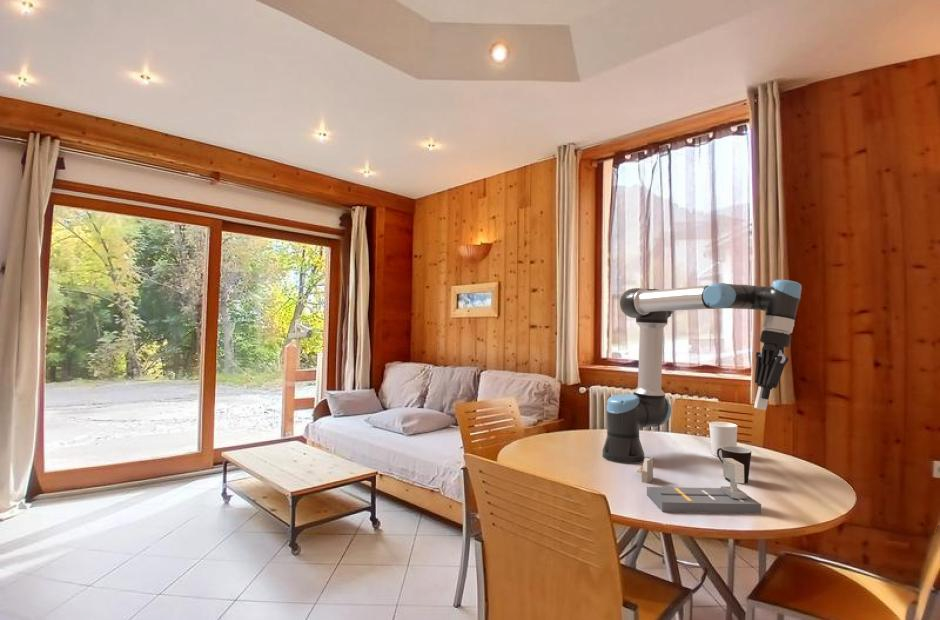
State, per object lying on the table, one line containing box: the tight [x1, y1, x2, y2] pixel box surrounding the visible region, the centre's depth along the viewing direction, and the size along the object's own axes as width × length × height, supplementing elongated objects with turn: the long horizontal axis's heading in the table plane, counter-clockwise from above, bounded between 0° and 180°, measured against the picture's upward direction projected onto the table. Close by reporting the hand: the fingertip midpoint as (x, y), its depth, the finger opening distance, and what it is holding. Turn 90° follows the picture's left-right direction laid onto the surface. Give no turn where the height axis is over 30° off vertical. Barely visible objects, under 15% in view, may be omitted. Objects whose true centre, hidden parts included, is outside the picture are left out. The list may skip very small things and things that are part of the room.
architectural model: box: [636, 456, 654, 484], centre depth 150 cm, size 3×7×7 cm, turn 143°
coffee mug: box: [716, 446, 753, 485], centre depth 151 cm, size 12×9×10 cm
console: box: [646, 486, 762, 515], centre depth 129 cm, size 26×12×3 cm, turn 88°
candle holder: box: [708, 421, 739, 459], centre depth 179 cm, size 10×10×12 cm
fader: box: [720, 458, 748, 499], centre depth 129 cm, size 4×6×9 cm, turn 178°
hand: (759, 408), depth 138 cm, fingers closed
